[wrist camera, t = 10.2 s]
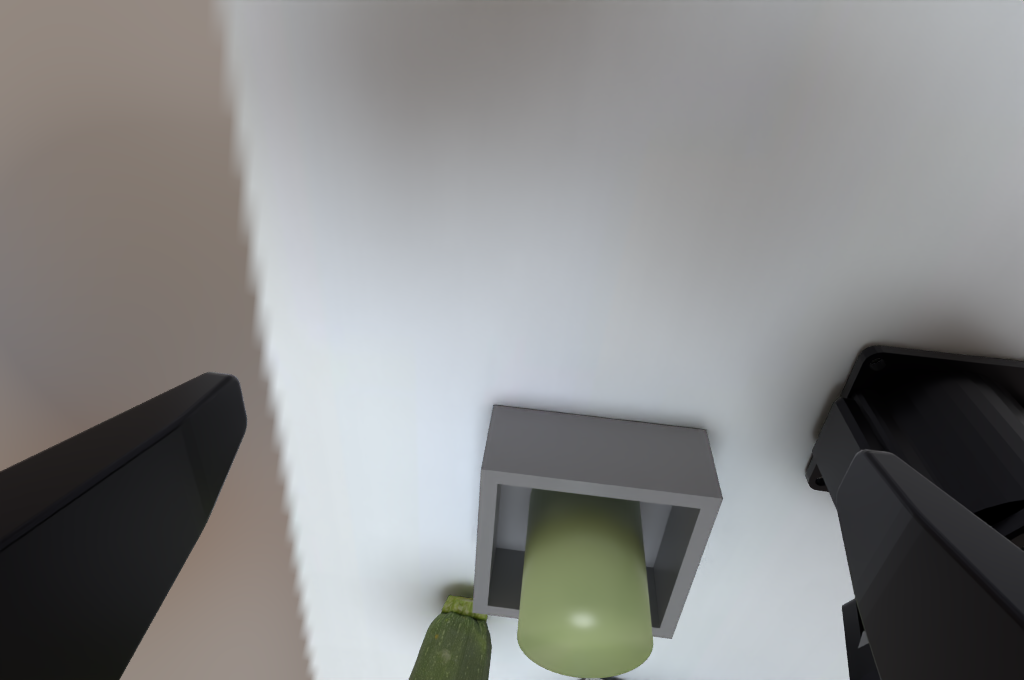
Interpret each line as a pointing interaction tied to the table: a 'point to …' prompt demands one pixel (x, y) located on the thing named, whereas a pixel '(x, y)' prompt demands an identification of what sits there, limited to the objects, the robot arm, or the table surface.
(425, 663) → the vegetable
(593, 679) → the tea box
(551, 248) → the table surface
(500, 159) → the table surface
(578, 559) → the olive cylinder
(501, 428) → the bin
